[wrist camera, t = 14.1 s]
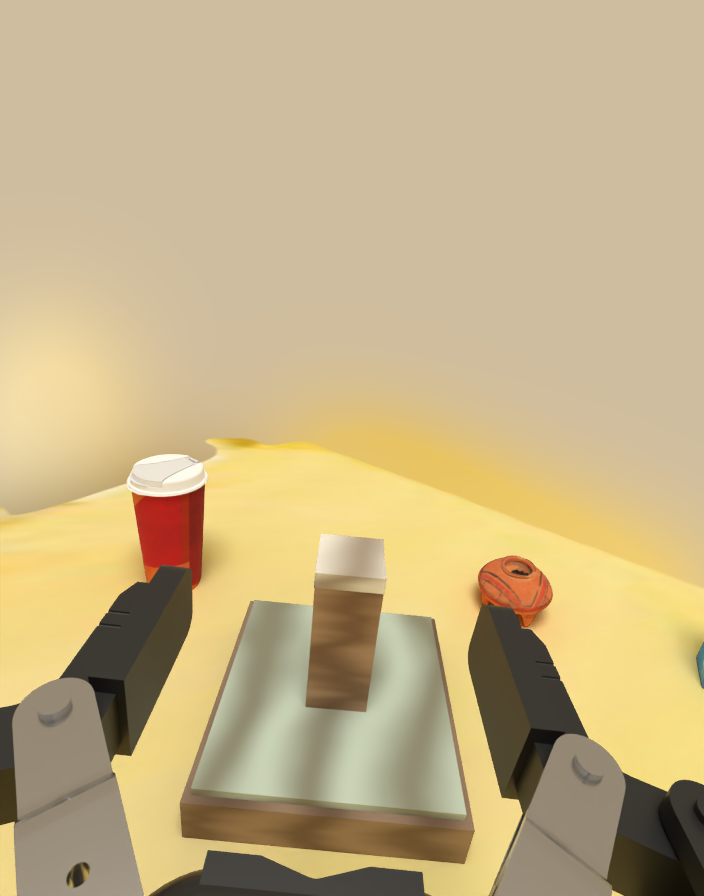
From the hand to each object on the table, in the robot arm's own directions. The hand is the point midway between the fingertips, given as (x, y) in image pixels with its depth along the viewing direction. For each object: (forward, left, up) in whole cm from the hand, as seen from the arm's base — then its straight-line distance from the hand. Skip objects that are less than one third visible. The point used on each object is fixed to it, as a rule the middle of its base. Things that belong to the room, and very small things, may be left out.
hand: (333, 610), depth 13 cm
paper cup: (-18, +31, -26) cm, 45 cm away
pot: (+20, +32, -26) cm, 46 cm away
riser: (+1, +16, -26) cm, 31 cm away
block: (+1, +17, -22) cm, 27 cm away
